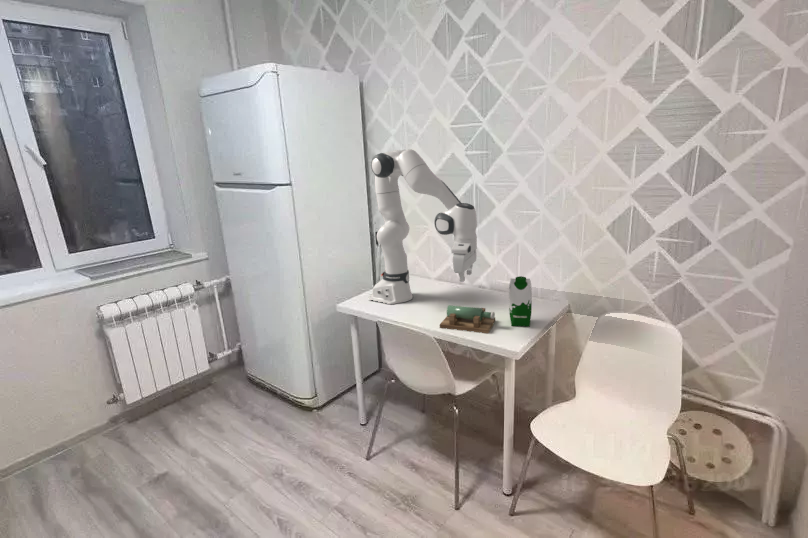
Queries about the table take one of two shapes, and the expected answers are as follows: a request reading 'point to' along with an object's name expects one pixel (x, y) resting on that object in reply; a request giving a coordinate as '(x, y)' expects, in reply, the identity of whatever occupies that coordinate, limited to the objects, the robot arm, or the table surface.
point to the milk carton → (520, 301)
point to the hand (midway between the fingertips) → (465, 277)
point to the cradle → (468, 323)
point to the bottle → (468, 312)
